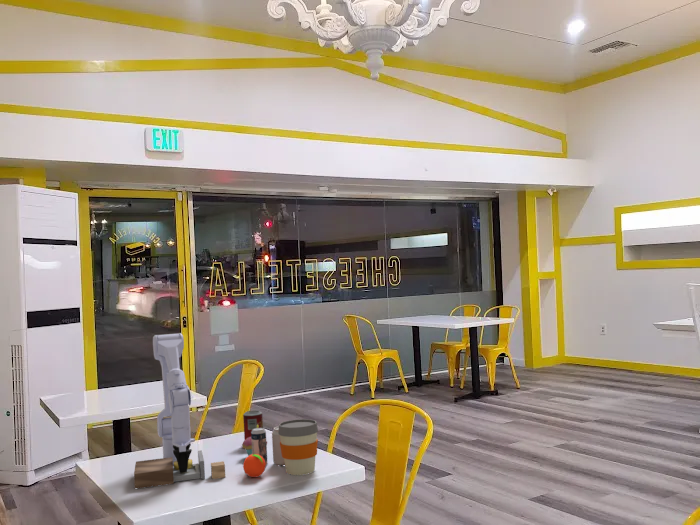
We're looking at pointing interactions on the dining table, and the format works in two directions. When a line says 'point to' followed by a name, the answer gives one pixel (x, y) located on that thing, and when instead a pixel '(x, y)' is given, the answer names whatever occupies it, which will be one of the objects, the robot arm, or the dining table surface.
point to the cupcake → (248, 445)
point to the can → (277, 448)
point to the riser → (218, 470)
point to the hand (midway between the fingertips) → (183, 469)
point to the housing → (153, 472)
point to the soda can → (252, 422)
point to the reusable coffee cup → (299, 445)
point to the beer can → (259, 442)
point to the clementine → (254, 465)
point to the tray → (191, 471)
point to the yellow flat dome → (188, 464)
